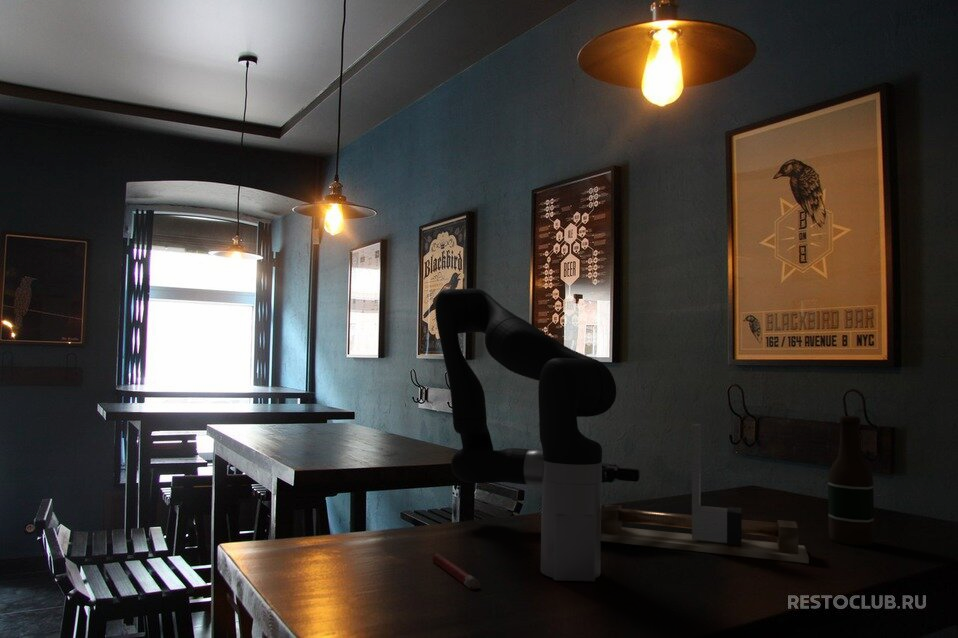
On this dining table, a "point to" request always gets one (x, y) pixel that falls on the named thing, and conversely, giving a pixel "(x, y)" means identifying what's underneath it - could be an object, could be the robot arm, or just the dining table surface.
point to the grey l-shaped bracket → (704, 518)
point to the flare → (456, 572)
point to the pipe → (686, 521)
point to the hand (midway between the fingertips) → (639, 475)
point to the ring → (734, 526)
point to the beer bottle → (850, 490)
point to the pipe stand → (757, 549)
